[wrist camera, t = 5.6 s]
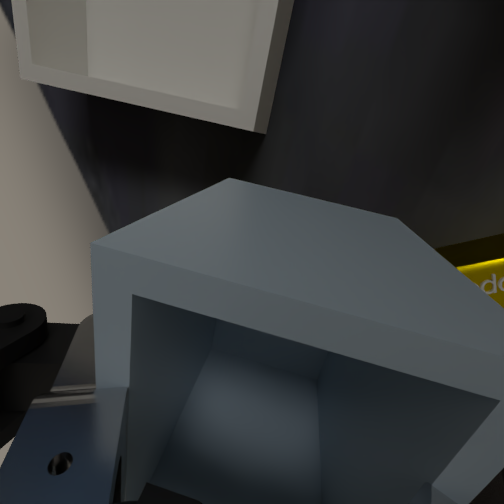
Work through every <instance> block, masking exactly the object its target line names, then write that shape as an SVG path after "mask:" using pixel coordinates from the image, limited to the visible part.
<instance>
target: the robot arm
mask: <svg viewBox="0 0 504 504" xmlns="http://www.w3.org/2000/svg"><path fill="white" fill-rule="evenodd" d="M127 404H128V387H114V388H101V389H96V375H95V349H94V323H93V314H92V315H90V316H88V317H87V318H85V319H84V320H83V321H82V322H81V323H80V324H64V323H47V317H46V312H45V310H44V309H43V308H42V307H40V306H37V305H34V304H27V303H18V304H10V305H5V306H1V307H0V449H1V448H2V447H3V446H4V445H5V444H6V443H8V442H9V441H10V440H11V439H12V438H14V437H15V438H14V440H13V442H12V444H11V446H10V448H9V451H8V452H7V455H6V457H5V459H4V461H3V463H2V465H1V467H0V504H202V503H201V502H200V501H198V500H196V499H193V498H190V497H187V496H184V495H181V494H179V493H176V492H173V491H170V490H167V489H164V488H162V487H159V486H156V485H153V484H150V483H147V482H146V485H145V487H144V489H143V491H142V493H141V495H140V497H139V499H138V501H124V500H125V484H126V444H127ZM408 504H457V503H456V502H455V501H453V500H452V499H450V498H449V497H448V496H446V495H445V494H443V493H442V492H441V491H439V490H438V489H436V488H435V487H434V486H432V485H431V484H429V483H428V482H425V483H424V484H423V485H422V486H421V488H420V489H419V490H418V491H417V493H416V494H415V495H414V496H413V498H412V499H411V500H410V502H409V503H408ZM469 504H504V468H503V469H502V470H501V471H500V472H499V473H498V474H497V475H496V476H495V477H494V478H493V479H492V480H491V481H490V482H489V483H488V484H487V486H486V487H485V488H484V489H483V490H482V491H481V492H480V493H479V494H478V495H477V496H476V497H475V498H474V499H473V500H472V501H471V502H470V503H469Z"/></svg>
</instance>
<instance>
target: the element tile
mask: <svg viewBox="0 0 504 504" xmlns="http://www.w3.org/2000/svg"><path fill="white" fill-rule="evenodd" d="M434 250H435V251H436V252H438V253H439V254H440V255H441V256H442V257H444V258H445V259H446V260H447V261H448V262H449V263H451V264H452V265H453V266H454V267H455V268H457V269H458V270H459V271H460V272H461V273H462V274H464V275H465V276H466V277H467V278H468V279H470V280H471V281H472V282H473V283H474V284H475V285H477V286H478V287H479V288H480V289H481V290H483V291H484V292H485V293H486V294H487V295H488V296H490V297H491V298H492V299H493V300H494V301H496V302H497V303H498V304H499V305H500V306H501V307H503V308H504V234H499V235H495V236H490V237H485V238H481V239H476V240H472V241H467V242H463V243H458V244H454V245H449V246H445V247H440V248H436V249H434Z"/></svg>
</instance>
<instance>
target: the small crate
mask: <svg viewBox="0 0 504 504" xmlns="http://www.w3.org/2000/svg"><path fill="white" fill-rule="evenodd" d="M90 244H91V270H92V297H93V323H94V349H95V375H96V389H101V388H114V387H128V404H127V444H126V484H125V500H124V501H138V499H139V497H140V495H141V493H142V491H143V489H144V487H145V485H146V482H147V483H150V484H153V485H156V486H159V487H162V488H164V489H167V490H170V491H173V492H176V493H179V494H181V495H184V496H187V497H190V498H193V499H196V500H198V501H200V502H201V503H202V504H408V503H409V502H410V500H411V499H412V498H413V496H414V495H415V494H416V493H417V491H418V490H419V489H420V488H421V486H422V485H423V484H424V483H425V482H428V483H429V484H431V485H432V486H434V487H435V488H436V489H438V490H439V491H441V492H442V493H443V494H445V495H446V496H448V497H449V498H450V499H452V500H453V501H455V502H456V503H457V504H469V503H470V502H471V501H472V500H473V499H474V498H475V497H476V496H477V495H478V494H479V493H480V492H481V491H482V490H483V489H484V488H485V487H486V486H487V484H488V483H489V482H490V481H491V480H492V479H493V478H494V477H495V476H496V475H497V474H498V473H499V472H500V471H501V470H502V469H503V468H504V308H503V307H501V306H500V305H499V304H498V303H497V302H496V301H494V300H493V299H492V298H491V297H490V296H488V295H487V294H486V293H485V292H484V291H483V290H481V289H480V288H479V287H478V286H477V285H475V284H474V283H473V282H472V281H471V280H470V279H468V278H467V277H466V276H465V275H464V274H462V273H461V272H460V271H459V270H458V269H457V268H455V267H454V266H453V265H452V264H451V263H449V262H448V261H447V260H446V259H445V258H444V257H442V256H441V255H440V254H439V253H438V252H436V251H435V250H434V249H433V248H432V247H431V246H429V245H428V244H427V243H426V242H425V241H423V240H422V239H421V238H420V237H419V236H418V235H416V234H415V233H414V232H413V231H412V230H411V229H409V228H408V227H407V226H406V225H405V224H403V223H402V222H401V221H400V220H399V219H398V218H394V217H390V216H386V215H382V214H378V213H374V212H370V211H365V210H361V209H357V208H353V207H349V206H345V205H340V204H336V203H332V202H328V201H324V200H320V199H316V198H311V197H307V196H303V195H299V194H295V193H291V192H286V191H282V190H278V189H274V188H270V187H266V186H262V185H257V184H253V183H249V182H245V181H241V180H237V179H232V178H228V179H226V180H223V181H221V182H219V183H217V184H215V185H213V186H211V187H209V188H206V189H204V190H202V191H200V192H198V193H196V194H194V195H191V196H189V197H187V198H185V199H183V200H181V201H179V202H177V203H174V204H172V205H170V206H168V207H166V208H164V209H162V210H159V211H157V212H155V213H153V214H151V215H149V216H147V217H145V218H142V219H140V220H138V221H136V222H134V223H132V224H130V225H127V226H125V227H123V228H121V229H119V230H117V231H115V232H113V233H110V234H108V235H106V236H104V237H102V238H100V239H98V240H95V241H93V242H91V243H90Z"/></svg>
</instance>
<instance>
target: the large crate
mask: <svg viewBox="0 0 504 504" xmlns="http://www.w3.org/2000/svg"><path fill="white" fill-rule="evenodd" d="M293 4H294V0H12V9H13V18H14V27H15V36H16V45H17V53H18V62H19V71H20V78H21V79H25V80H29V81H33V82H38V83H42V84H46V85H51V86H55V87H60V88H64V89H68V90H73V91H77V92H82V93H86V94H90V95H95V96H99V97H104V98H108V99H112V100H117V101H121V102H126V103H130V104H134V105H139V106H143V107H148V108H152V109H156V110H161V111H165V112H169V113H174V114H178V115H183V116H187V117H191V118H196V119H200V120H205V121H209V122H213V123H218V124H222V125H227V126H231V127H235V128H240V129H244V130H249V131H253V132H258V133H262V134H266V132H267V128H268V123H269V118H270V113H271V108H272V104H273V99H274V94H275V89H276V85H277V80H278V75H279V70H280V66H281V61H282V56H283V51H284V47H285V42H286V37H287V32H288V28H289V23H290V18H291V13H292V8H293Z"/></svg>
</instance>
